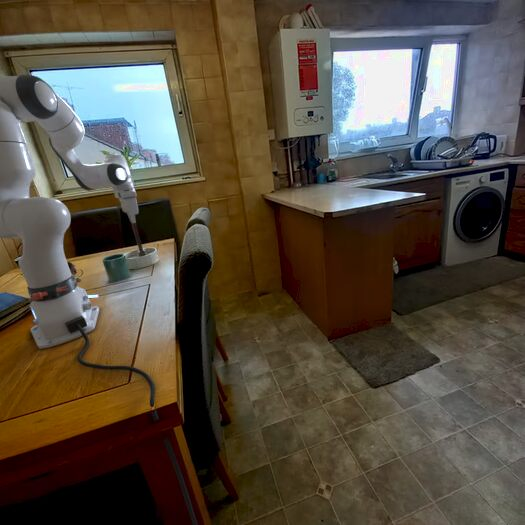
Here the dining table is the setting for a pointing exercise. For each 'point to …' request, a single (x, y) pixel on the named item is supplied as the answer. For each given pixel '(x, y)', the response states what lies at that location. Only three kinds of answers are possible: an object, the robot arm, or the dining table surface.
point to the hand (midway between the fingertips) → (133, 222)
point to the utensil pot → (116, 267)
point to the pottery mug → (71, 267)
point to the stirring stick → (138, 240)
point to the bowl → (141, 258)
